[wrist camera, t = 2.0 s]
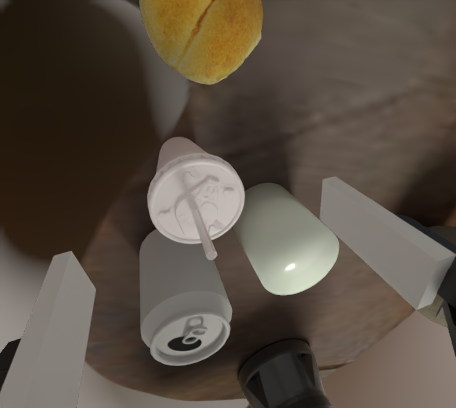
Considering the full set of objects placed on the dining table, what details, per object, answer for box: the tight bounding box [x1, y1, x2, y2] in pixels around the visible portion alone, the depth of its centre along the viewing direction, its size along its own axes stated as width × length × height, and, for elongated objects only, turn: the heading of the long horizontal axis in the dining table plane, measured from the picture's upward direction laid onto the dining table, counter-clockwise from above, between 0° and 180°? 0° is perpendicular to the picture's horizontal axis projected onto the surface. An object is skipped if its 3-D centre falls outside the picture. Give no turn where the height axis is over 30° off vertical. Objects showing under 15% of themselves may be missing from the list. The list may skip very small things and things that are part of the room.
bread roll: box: [139, 0, 263, 85], centre depth 18 cm, size 8×9×4 cm
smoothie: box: [147, 137, 245, 260], centre depth 19 cm, size 6×6×14 cm
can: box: [139, 229, 232, 366], centre depth 25 cm, size 8×8×12 cm
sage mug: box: [232, 183, 339, 295], centre depth 28 cm, size 10×8×9 cm
